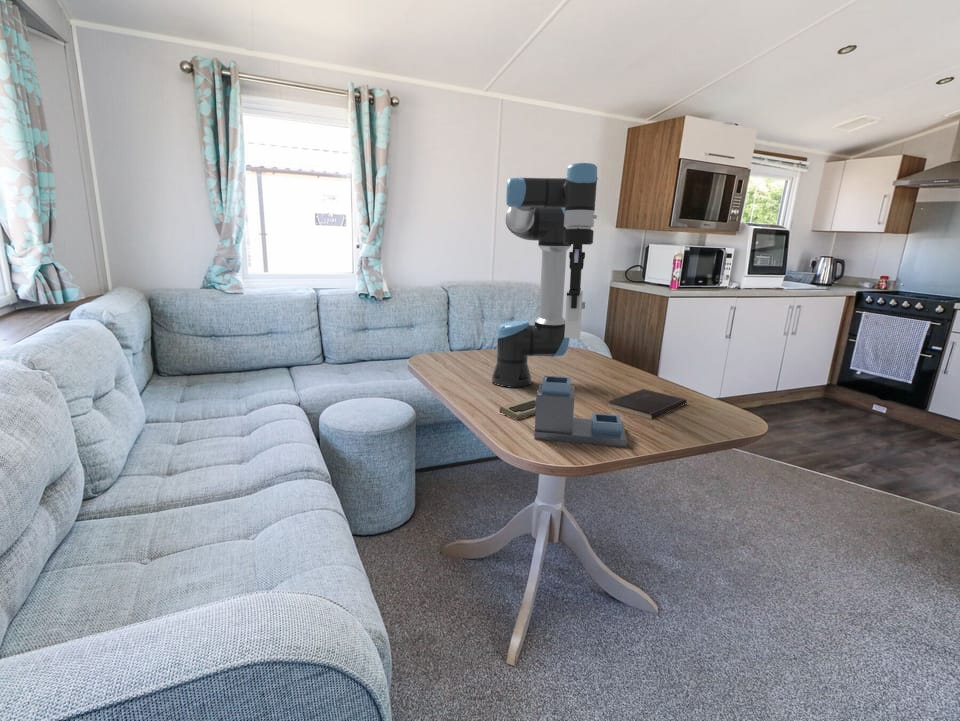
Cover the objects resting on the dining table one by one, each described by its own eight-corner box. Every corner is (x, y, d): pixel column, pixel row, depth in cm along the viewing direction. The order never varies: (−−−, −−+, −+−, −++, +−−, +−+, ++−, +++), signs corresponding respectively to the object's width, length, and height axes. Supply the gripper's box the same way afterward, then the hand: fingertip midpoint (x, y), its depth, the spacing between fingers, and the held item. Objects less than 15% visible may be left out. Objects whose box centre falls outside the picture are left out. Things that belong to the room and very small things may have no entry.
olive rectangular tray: (517, 421, 145) (518, 411, 144) (498, 415, 151) (499, 405, 150) (551, 410, 156) (551, 401, 155) (532, 404, 161) (532, 395, 161)
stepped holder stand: (534, 438, 131) (536, 385, 128) (538, 421, 144) (540, 372, 141) (626, 447, 126) (631, 392, 123) (621, 428, 140) (626, 378, 136)
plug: (564, 337, 128) (566, 291, 126) (565, 335, 132) (567, 290, 130) (582, 338, 127) (585, 292, 125) (583, 336, 131) (585, 291, 128)
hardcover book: (606, 408, 159) (607, 401, 159) (642, 395, 174) (643, 388, 174) (651, 421, 148) (652, 414, 147) (686, 406, 163) (687, 399, 162)
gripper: (593, 226, 115) (587, 324, 120) (593, 230, 131) (588, 316, 136) (561, 226, 116) (556, 323, 121) (565, 230, 133) (561, 315, 138)
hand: (573, 319), depth 129 cm, fingers closed on plug, 4 cm apart
